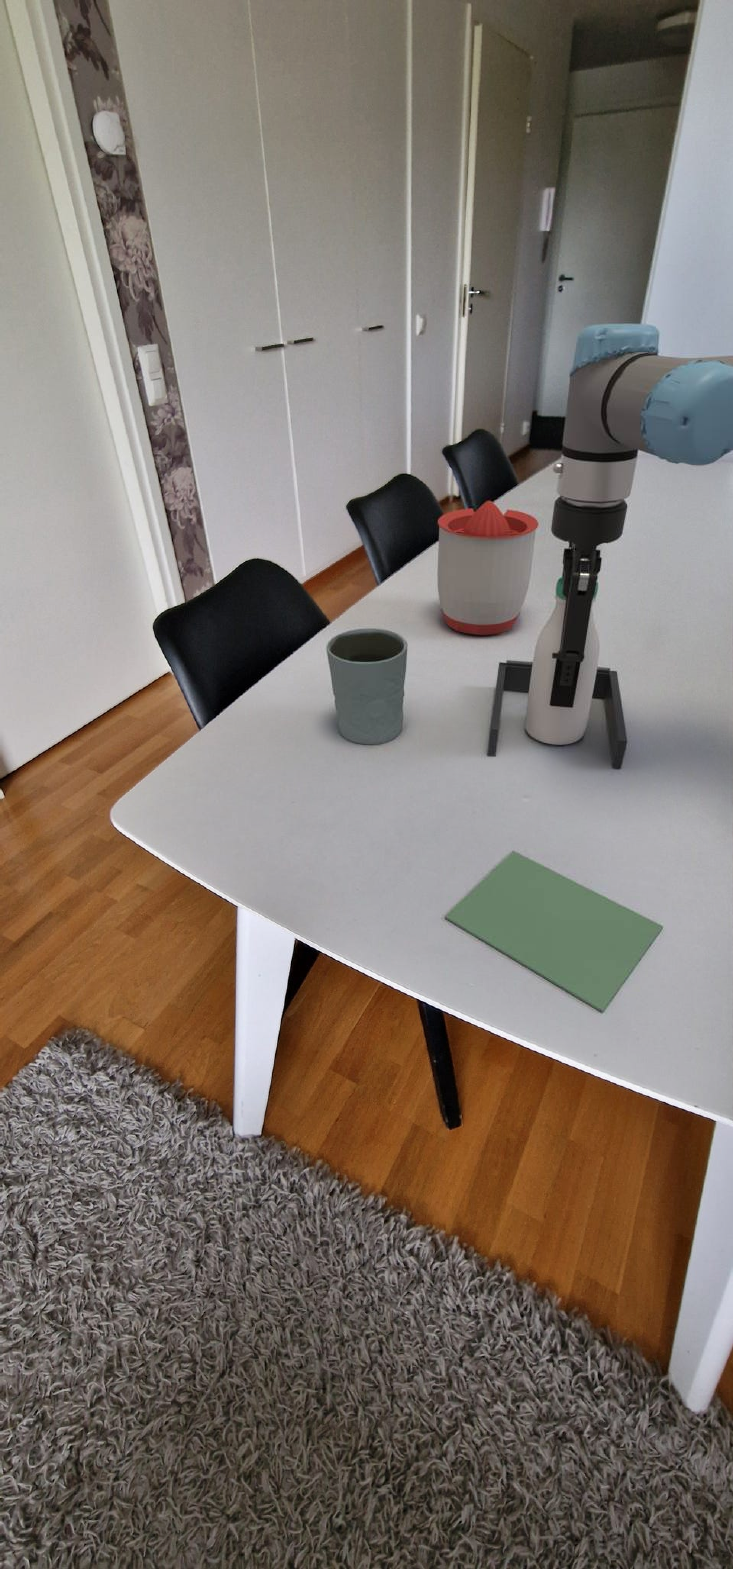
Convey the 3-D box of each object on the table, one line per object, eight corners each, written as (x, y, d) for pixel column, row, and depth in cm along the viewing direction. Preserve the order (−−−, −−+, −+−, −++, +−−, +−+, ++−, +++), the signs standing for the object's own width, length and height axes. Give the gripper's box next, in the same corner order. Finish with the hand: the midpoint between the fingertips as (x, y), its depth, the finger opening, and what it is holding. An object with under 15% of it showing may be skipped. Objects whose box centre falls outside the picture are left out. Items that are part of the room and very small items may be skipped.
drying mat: (662, 928, 65) (663, 926, 64) (602, 1013, 57) (603, 1010, 57) (513, 852, 73) (513, 850, 73) (444, 918, 66) (444, 916, 66)
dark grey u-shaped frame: (496, 687, 102) (499, 658, 99) (611, 696, 99) (617, 667, 96) (487, 755, 88) (490, 724, 85) (620, 769, 85) (628, 737, 82)
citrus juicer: (526, 603, 126) (540, 486, 114) (525, 645, 112) (541, 517, 101) (439, 599, 129) (444, 483, 117) (428, 639, 115) (432, 513, 103)
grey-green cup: (383, 755, 88) (382, 669, 81) (316, 735, 92) (309, 651, 85) (419, 718, 95) (421, 636, 88) (355, 701, 99) (352, 621, 92)
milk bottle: (591, 746, 88) (621, 592, 76) (529, 747, 89) (550, 594, 77) (577, 714, 95) (603, 568, 83) (519, 715, 95) (537, 569, 83)
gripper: (555, 474, 83) (532, 651, 97) (555, 525, 67) (527, 728, 81) (621, 476, 82) (589, 655, 95) (637, 528, 66) (595, 734, 79)
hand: (561, 688), depth 88 cm, fingers closed on milk bottle, 8 cm apart
